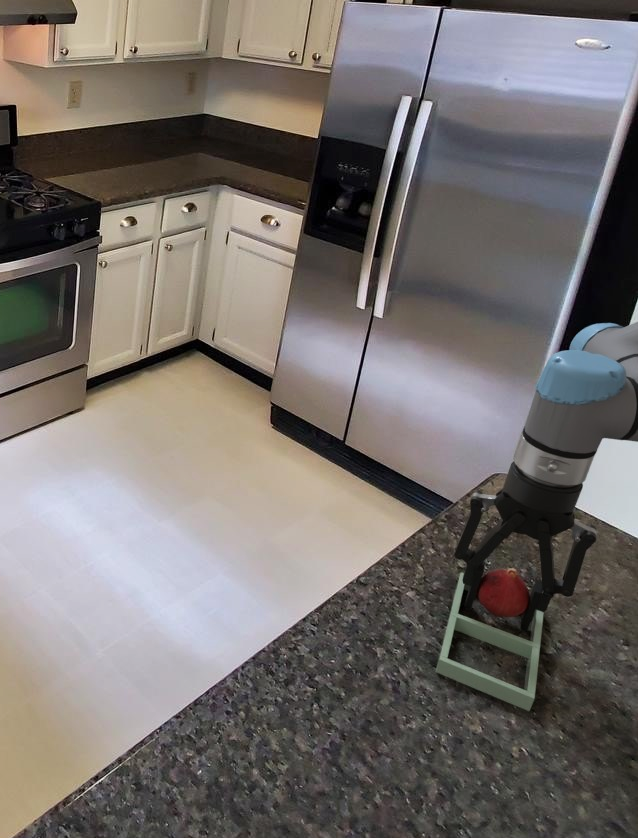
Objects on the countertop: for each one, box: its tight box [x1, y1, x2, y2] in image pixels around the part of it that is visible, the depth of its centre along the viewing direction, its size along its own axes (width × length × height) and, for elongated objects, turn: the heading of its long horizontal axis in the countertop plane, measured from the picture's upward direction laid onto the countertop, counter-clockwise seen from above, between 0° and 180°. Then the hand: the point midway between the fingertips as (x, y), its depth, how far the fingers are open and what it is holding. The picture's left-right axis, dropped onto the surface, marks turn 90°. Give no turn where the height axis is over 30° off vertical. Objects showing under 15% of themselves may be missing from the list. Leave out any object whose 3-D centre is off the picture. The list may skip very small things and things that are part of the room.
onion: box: [476, 567, 531, 618], centre depth 106 cm, size 6×6×8 cm
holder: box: [435, 572, 545, 712], centre depth 105 cm, size 19×10×3 cm, turn 144°
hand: (496, 613), depth 108 cm, fingers closed on onion, 6 cm apart
